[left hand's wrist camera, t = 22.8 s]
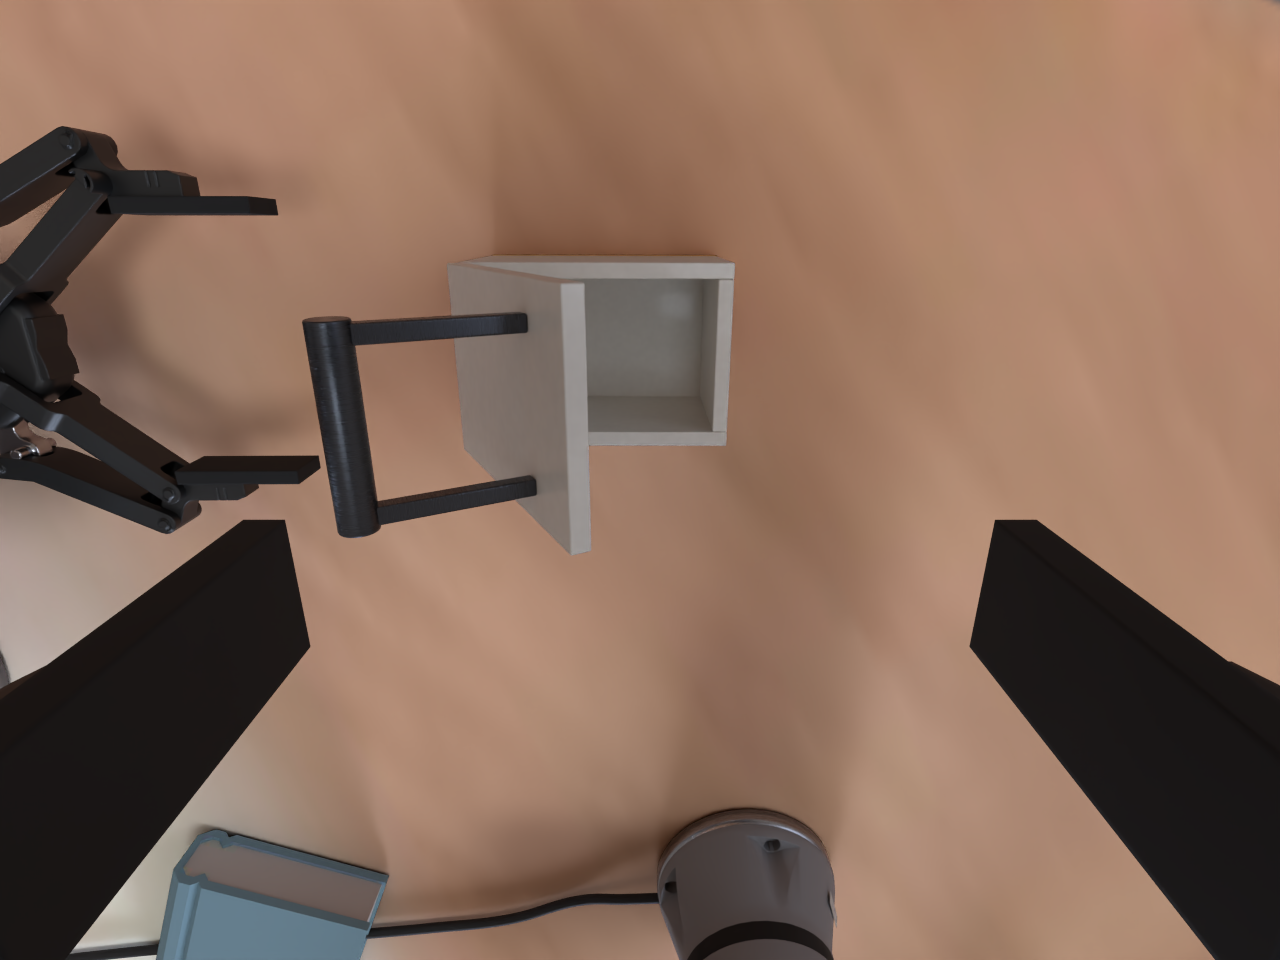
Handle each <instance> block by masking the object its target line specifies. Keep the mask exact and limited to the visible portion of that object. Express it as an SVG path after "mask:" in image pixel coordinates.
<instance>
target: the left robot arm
mask: <svg viewBox="0 0 1280 960" xmlns="http://www.w3.org/2000/svg"><path fill="white" fill-rule="evenodd" d="M309 648H310V642H309V637H308V632H307V627H306V622H305V617H304V612H303V607H302V602H301V597H300V592H299V587H298V582H297V578H296V573H295V568H294V563H293V558H292V553H291V548H290V543H289V538H288V533H287V528H286V523H285V520H243V521H241V522H240V523H239V524H237V525H236V526H234V527H233V528H232V529H230V530H229V531H228V532H226V533H225V534H224V535H222V536H221V537H220V538H218V539H217V540H216V541H214V542H213V543H211V544H210V545H209V546H207V547H206V548H205V549H203V550H202V551H201V552H199V553H198V554H197V555H195V556H194V557H193V558H191V559H190V560H188V561H187V562H186V563H184V564H183V565H182V566H180V567H179V568H178V569H176V570H175V571H174V572H172V573H171V574H170V575H168V576H167V577H166V578H164V579H163V580H161V581H160V582H159V583H157V584H156V585H155V586H153V587H152V588H151V589H149V590H148V591H147V592H145V593H144V594H143V595H141V596H140V597H138V598H137V599H136V600H134V601H133V602H132V603H130V604H129V605H128V606H126V607H125V608H124V609H122V610H121V611H120V612H118V613H117V614H115V615H114V616H113V617H111V618H110V619H109V620H107V621H106V622H105V623H103V624H102V625H101V626H99V627H98V628H97V629H95V630H94V631H93V632H91V633H90V634H88V635H87V636H86V637H84V638H83V639H82V640H80V641H79V642H78V643H76V644H75V645H74V646H72V647H71V648H70V649H68V650H67V651H65V652H64V653H63V654H61V655H60V656H59V657H57V658H56V659H55V660H53V661H52V662H51V663H49V664H48V665H46V666H44V667H42V668H40V669H38V670H36V671H34V672H32V673H30V674H28V675H26V676H24V677H22V678H20V679H18V680H16V681H14V682H12V683H10V684H8V685H6V686H4V687H2V688H1V689H0V960H108V959H118V958H128V957H138V956H148V955H157V952H158V947H159V944H158V945H147V946H137V947H127V948H117V949H108V950H99V951H90V952H82V953H74V954H70V952H71V951H72V950H73V949H74V947H75V946H76V945H77V944H78V942H79V941H80V940H81V938H82V937H83V936H84V935H85V933H86V932H87V931H88V930H89V928H90V927H91V926H92V924H93V923H94V922H95V921H96V919H97V918H98V917H99V915H100V914H101V913H102V912H103V910H104V909H105V908H106V907H107V905H108V904H109V903H110V901H111V900H112V899H113V898H114V896H115V895H116V894H117V893H118V891H119V890H120V889H121V887H122V886H123V885H124V884H125V882H126V881H127V880H128V879H129V877H130V876H131V875H132V873H133V872H134V871H135V870H136V868H137V867H138V866H139V865H140V863H141V862H142V861H143V859H144V858H145V857H146V856H147V854H148V853H149V852H150V850H151V849H152V848H153V847H154V845H155V844H156V843H157V842H158V840H159V839H160V838H161V836H162V835H163V834H164V833H165V831H166V830H167V829H168V828H169V826H170V825H171V824H172V822H173V821H174V820H175V819H176V817H177V816H178V815H179V814H180V812H181V811H182V810H183V808H184V807H185V806H186V805H187V803H188V802H189V801H190V800H191V798H192V797H193V796H194V794H195V793H196V792H197V791H198V789H199V788H200V787H201V785H202V784H203V783H204V782H205V780H206V779H207V778H208V777H209V775H210V774H211V773H212V771H213V770H214V769H215V768H216V766H217V765H218V764H219V763H220V761H221V760H222V759H223V757H224V756H225V755H226V754H227V752H228V751H229V750H230V749H231V747H232V746H233V745H234V743H235V742H236V741H237V740H238V738H239V737H240V736H241V734H242V733H243V732H244V731H245V729H246V728H247V727H248V726H249V724H250V723H251V722H252V720H253V719H254V718H255V717H256V715H257V714H258V713H259V712H260V710H261V709H262V708H263V706H264V705H265V704H266V703H267V701H268V700H269V699H270V698H271V696H272V695H273V694H274V692H275V691H276V690H277V689H278V687H279V686H280V685H281V684H282V682H283V681H284V680H285V678H286V677H287V676H288V675H289V673H290V672H291V671H292V669H293V668H294V667H295V666H296V664H297V663H298V662H299V661H300V659H301V658H302V657H303V655H304V654H305V653H306V652H307V650H308V649H309ZM970 648H971V649H972V650H973V652H974V653H975V654H976V655H977V657H978V658H979V659H980V661H981V662H982V663H983V664H984V666H985V667H986V668H987V669H988V671H989V672H990V673H991V675H992V676H993V677H994V678H995V680H996V681H997V682H998V684H999V685H1000V686H1001V687H1002V689H1003V690H1004V691H1005V692H1006V694H1007V695H1008V696H1009V698H1010V699H1011V700H1012V701H1013V703H1014V704H1015V705H1016V706H1017V708H1018V709H1019V710H1020V712H1021V713H1022V714H1023V715H1024V717H1025V718H1026V719H1027V720H1028V722H1029V723H1030V724H1031V726H1032V727H1033V728H1034V729H1035V731H1036V732H1037V733H1038V735H1039V736H1040V737H1041V738H1042V740H1043V741H1044V742H1045V743H1046V745H1047V746H1048V747H1049V749H1050V750H1051V751H1052V752H1053V754H1054V755H1055V756H1056V757H1057V759H1058V760H1059V761H1060V763H1061V764H1062V765H1063V766H1064V768H1065V769H1066V770H1067V771H1068V773H1069V774H1070V775H1071V777H1072V778H1073V779H1074V780H1075V782H1076V783H1077V784H1078V785H1079V787H1080V788H1081V789H1082V791H1083V792H1084V793H1085V794H1086V796H1087V797H1088V798H1089V800H1090V801H1091V802H1092V803H1093V805H1094V806H1095V807H1096V808H1097V810H1098V811H1099V812H1100V814H1101V815H1102V816H1103V817H1104V819H1105V820H1106V821H1107V822H1108V824H1109V825H1110V826H1111V828H1112V829H1113V830H1114V831H1115V833H1116V834H1117V835H1118V836H1119V838H1120V839H1121V840H1122V842H1123V843H1124V844H1125V845H1126V847H1127V848H1128V849H1129V850H1130V852H1131V853H1132V854H1133V856H1134V857H1135V858H1136V859H1137V861H1138V862H1139V863H1140V865H1141V866H1142V867H1143V868H1144V870H1145V871H1146V872H1147V873H1148V875H1149V876H1150V877H1151V879H1152V880H1153V881H1154V882H1155V884H1156V885H1157V886H1158V887H1159V889H1160V890H1161V891H1162V893H1163V894H1164V895H1165V896H1166V898H1167V899H1168V900H1169V901H1170V903H1171V904H1172V905H1173V907H1174V908H1175V909H1176V910H1177V912H1178V913H1179V914H1180V915H1181V917H1182V918H1183V919H1184V921H1185V922H1186V923H1187V924H1188V926H1189V927H1190V928H1191V930H1192V931H1193V932H1194V933H1195V935H1196V936H1197V937H1198V938H1199V940H1200V941H1201V942H1202V944H1203V945H1204V946H1205V947H1206V949H1207V950H1208V951H1209V952H1210V954H1211V955H1212V956H1213V958H1214V959H1215V960H1280V686H1279V685H1278V684H1276V683H1274V682H1272V681H1270V680H1268V679H1266V678H1264V677H1262V676H1260V675H1258V674H1256V673H1254V672H1252V671H1250V670H1248V669H1246V668H1244V667H1242V666H1240V665H1238V664H1236V663H1233V662H1228V661H1227V660H1225V659H1224V658H1223V657H1221V656H1220V655H1219V654H1217V653H1216V652H1215V651H1213V650H1212V649H1210V648H1209V647H1208V646H1206V645H1205V644H1204V643H1202V642H1201V641H1200V640H1198V639H1197V638H1196V637H1194V636H1193V635H1192V634H1190V633H1189V632H1187V631H1186V630H1185V629H1183V628H1182V627H1181V626H1179V625H1178V624H1177V623H1175V622H1174V621H1173V620H1171V619H1170V618H1169V617H1167V616H1166V615H1165V614H1163V613H1162V612H1160V611H1159V610H1158V609H1156V608H1155V607H1154V606H1152V605H1151V604H1150V603H1148V602H1147V601H1146V600H1144V599H1143V598H1142V597H1140V596H1139V595H1137V594H1136V593H1135V592H1133V591H1132V590H1131V589H1129V588H1128V587H1127V586H1125V585H1124V584H1123V583H1121V582H1120V581H1119V580H1117V579H1116V578H1114V577H1113V576H1112V575H1110V574H1109V573H1108V572H1106V571H1105V570H1104V569H1102V568H1101V567H1100V566H1098V565H1097V564H1096V563H1094V562H1093V561H1092V560H1090V559H1089V558H1087V557H1086V556H1085V555H1083V554H1082V553H1081V552H1079V551H1078V550H1077V549H1075V548H1074V547H1073V546H1071V545H1070V544H1069V543H1067V542H1066V541H1064V540H1063V539H1062V538H1060V537H1059V536H1058V535H1056V534H1055V533H1054V532H1052V531H1051V530H1050V529H1048V528H1047V527H1046V526H1044V525H1043V524H1041V523H1040V522H1039V521H1037V520H995V523H994V528H993V533H992V538H991V543H990V548H989V553H988V558H987V563H986V568H985V573H984V578H983V582H982V587H981V592H980V597H979V602H978V607H977V612H976V617H975V622H974V627H973V632H972V637H971V642H970ZM657 889H658V893H642V894H586V895H579V896H574V897H569V898H565V899H561V900H557V901H554V902H551V903H548V904H545V905H542V906H538V907H535V908H532V909H529V910H525V911H522V912H517V913H513V914H508V915H502V916H496V917H489V918H480V919H470V920H459V921H447V922H436V923H425V924H415V925H404V926H392V927H380V928H370V931H369V934H368V935H366V938H365V939H371V938H383V937H395V936H407V935H418V934H428V933H439V932H450V931H463V930H474V929H483V928H491V927H498V926H504V925H510V924H515V923H519V922H523V921H527V920H530V919H534V918H537V917H540V916H543V915H546V914H549V913H552V912H556V911H559V910H563V909H567V908H571V907H576V906H582V905H591V904H610V905H628V904H660V908H661V912H662V915H663V917H664V920H665V923H666V925H667V928H668V931H669V933H670V936H671V939H672V941H673V944H674V947H675V949H676V952H677V955H678V957H679V960H834V959H833V955H832V939H833V920H835V924H836V928H837V914H836V910H835V906H834V900H835V885H834V875H833V871H832V868H831V864H830V861H829V858H828V854H827V852H826V849H825V847H824V846H823V844H822V842H821V841H820V840H819V838H818V837H817V836H816V835H815V834H814V833H813V832H812V831H811V830H810V829H809V828H807V827H806V826H805V825H803V824H802V823H800V822H798V821H796V820H794V819H792V818H790V817H788V816H785V815H782V814H779V813H775V812H771V811H765V810H755V809H742V810H732V811H725V812H721V813H717V814H714V815H710V816H708V817H705V818H703V819H700V820H698V821H696V822H694V823H693V824H691V825H689V826H688V827H686V828H685V829H684V830H682V831H681V832H680V833H679V834H677V835H676V836H675V837H674V838H673V839H672V840H671V842H670V843H669V844H668V846H667V847H666V849H665V850H664V852H663V854H662V856H661V858H660V861H659V865H658V871H657Z"/></svg>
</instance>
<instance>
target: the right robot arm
mask: <svg viewBox="0 0 1280 960" xmlns="http://www.w3.org/2000/svg"><path fill="white" fill-rule="evenodd" d="M117 153H118V150H117V145H116V143H115V141H114V140H113V139H112V138H111V137H109V136H108V135H105V134H100V133H96V132H91V131H86V130H81V129H76V128H70V127H64V126H61V127H58V128H56V129H55V130H53V131H52V132H50V133H48V134H47V135H45V136H44V137H42V138H41V139H39V140H37V141H36V142H34V143H33V144H31V145H30V146H28V147H26V148H25V149H23V150H22V151H20V152H19V153H17V154H16V155H14V156H12V157H11V158H9V159H8V160H6V161H5V162H3V163H1V164H0V227H2V226H5V225H8V224H10V223H12V222H14V221H15V220H17V219H19V218H20V217H22V216H23V215H25V214H27V213H28V212H30V211H31V210H33V209H35V208H36V207H38V206H39V205H41V204H43V203H44V202H46V201H48V200H49V199H51V198H52V197H54V196H56V195H57V194H59V193H60V192H62V191H64V190H65V189H66V191H65V192H64V193H63V194H62V195H61V196H60V198H59V199H58V200H57V201H56V202H55V204H54V205H53V206H52V207H51V208H50V210H49V211H48V212H47V213H46V214H45V216H44V217H43V218H42V219H41V220H40V222H39V223H38V224H37V225H36V226H35V227H34V229H33V230H32V231H31V232H30V233H29V235H28V236H27V237H26V238H25V239H24V241H23V242H22V243H21V244H20V245H19V247H18V248H17V249H16V250H15V251H14V253H13V254H12V255H11V256H10V257H9V258H8V260H7V261H6V262H4V263H3V264H0V478H2V479H12V480H23V481H33V482H36V483H38V484H41V485H43V486H46V487H48V488H51V489H53V490H56V491H58V492H61V493H63V494H66V495H68V496H71V497H73V498H76V499H78V500H81V501H83V502H86V503H88V504H91V505H93V506H96V507H98V508H101V509H103V510H106V511H108V512H111V513H114V514H116V515H119V516H121V517H124V518H126V519H129V520H131V521H134V522H136V523H139V524H141V525H144V526H146V527H149V528H151V529H154V530H156V531H159V532H161V533H165V534H169V533H172V532H174V531H175V530H177V529H178V528H180V527H182V526H183V525H185V524H186V523H188V522H189V521H191V520H192V519H194V518H195V517H197V516H198V515H200V513H201V511H202V508H201V505H200V504H199V500H239V499H241V498H244V497H246V496H248V495H249V494H251V493H252V492H254V491H255V490H257V489H258V488H259V486H258V484H300V483H301V482H303V481H304V480H305V479H307V478H308V477H309V476H311V475H312V474H313V473H315V472H316V471H317V470H319V469H320V468H321V467H320V461H319V456H204V457H202V458H200V459H198V460H196V461H194V462H192V463H190V464H189V463H188V462H186V461H185V460H183V459H182V458H180V457H179V456H177V455H176V454H174V453H173V452H171V451H170V450H168V449H167V448H165V447H164V446H162V445H161V444H159V443H158V442H156V441H155V440H153V439H152V438H150V437H149V436H147V435H146V434H144V433H143V432H141V431H140V430H138V429H137V428H135V427H134V426H132V425H131V424H129V423H128V422H126V421H125V420H123V419H122V418H120V417H119V416H117V415H116V414H114V413H113V412H111V411H110V410H108V409H107V408H105V407H104V406H102V405H101V404H100V398H99V397H98V396H97V395H96V394H94V393H93V392H91V391H90V390H88V389H87V388H85V387H84V386H82V385H81V384H79V383H78V382H76V381H75V380H74V374H77V373H79V369H78V366H77V362H76V359H75V357H74V355H73V353H72V351H71V350H70V348H69V346H68V343H67V326H66V323H65V319H64V316H63V314H57V313H56V311H55V310H54V308H53V307H52V306H51V304H52V303H53V301H54V300H55V299H56V298H57V297H58V296H59V295H60V293H61V292H62V291H63V290H64V289H65V288H66V287H67V285H68V281H67V277H68V276H69V275H70V274H71V273H72V272H73V271H74V269H75V268H76V267H77V266H78V265H79V264H80V263H81V261H82V260H83V259H84V258H85V257H86V256H87V255H88V253H89V252H90V251H91V250H92V249H93V248H94V246H95V245H96V244H97V243H98V242H99V241H100V240H101V238H102V237H103V236H104V235H105V234H106V233H107V232H108V230H109V229H110V228H111V227H112V226H113V225H114V224H115V222H116V221H117V220H118V219H119V218H120V217H121V216H122V214H134V215H278V211H277V205H276V199H267V198H258V197H249V196H200V192H199V187H198V182H197V178H196V177H194V176H191V175H189V174H186V173H181V172H174V171H167V170H156V171H154V170H147V171H145V170H127V169H126V168H125V167H124V166H122V164H121V163H120V161H119V160H118V158H117ZM57 399H59V400H61V401H59V402H55V401H56V400H57ZM53 402H55V403H53ZM29 422H30V423H32V424H33V425H35V426H36V427H38V428H40V429H43V430H47V431H54V432H57V433H59V434H61V435H62V436H64V437H65V438H67V439H68V440H70V441H71V442H73V443H74V444H76V445H78V446H79V447H81V448H82V449H84V450H85V451H87V452H88V453H90V454H92V455H93V456H95V457H96V458H98V459H99V460H97V459H95V458H92V457H90V456H87V455H85V454H83V453H80V452H77V451H74V450H71V449H67V448H63V447H56V441H55V440H54V439H52V438H47V439H45V438H43V437H41V436H38V435H36V434H34V433H33V432H32V431H31V430H30V429H29V427H28V423H29ZM100 460H101V461H100ZM8 684H9V683H8V677H7V673H6V670H5V667H4V665H3V662H2V660H1V658H0V689H1V688H2V687H4V686H6V685H8Z"/></svg>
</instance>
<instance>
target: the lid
mask: <svg viewBox="0 0 1280 960" xmlns="http://www.w3.org/2000/svg"><path fill="white" fill-rule="evenodd" d="M447 271H448V282H449V292H450V303H451V314H452V316H435V317H418V318H400V319H383V320H366V321H351V319H350V318H349V317H342V316H327V317H314V318H308V319H304V320H303V321H302V324H303V330H304V336H305V342H306V348H307V354H308V359H309V365H310V371H311V377H312V383H313V389H314V395H315V401H316V407H317V412H318V418H319V424H320V430H321V436H322V442H323V448H324V454H325V459H326V465H327V471H328V477H329V483H330V489H331V495H332V501H333V506H334V512H335V518H336V524H337V530H338V533H339V535H340V536H342V537H346V538H359V537H364V536H368V535H371V534H374V533H375V532H377V531H378V530H379V529H380V528H381V525H383V524H389V523H394V522H399V521H404V520H410V519H415V518H420V517H426V516H431V515H436V514H441V513H447V512H452V511H457V510H463V509H468V508H473V507H478V506H484V505H489V504H494V503H500V502H505V501H510V500H516V501H517V502H518V503H519V504H520V505H521V506H522V507H523V508H524V509H525V510H526V511H527V512H528V513H529V514H530V515H531V516H532V517H533V518H534V519H535V520H536V521H537V522H538V523H539V524H540V525H541V526H542V527H543V528H544V529H545V530H546V531H547V532H548V533H549V534H550V535H551V536H552V537H553V538H554V539H555V540H556V541H557V542H558V543H559V544H560V545H561V546H562V547H563V548H564V549H565V550H566V551H567V552H568V553H569V554H570V555H576V554H580V553H584V552H588V551H591V521H590V482H589V443H588V404H587V365H586V326H585V286H584V283H583V282H578V281H572V280H566V279H560V278H554V277H548V276H542V275H536V274H530V273H524V272H518V271H511V270H505V269H499V268H493V267H487V266H481V265H475V264H469V263H463V262H459V263H447ZM452 338H454V346H455V356H456V367H457V378H458V389H459V399H460V410H461V421H462V431H463V442H464V449H465V450H466V451H467V452H468V453H469V454H470V455H471V456H472V457H473V458H474V459H475V460H476V461H477V462H478V463H479V464H480V465H481V466H482V467H483V468H484V469H485V470H486V471H487V472H488V473H489V474H490V475H491V476H492V477H493V478H494V479H495V480H496V481H492V482H486V483H480V484H475V485H469V486H463V487H457V488H451V489H446V490H440V491H434V492H428V493H423V494H417V495H411V496H405V497H400V498H394V499H388V500H382V501H377V494H376V487H375V480H374V473H373V466H372V460H371V453H370V446H369V439H368V432H367V425H366V418H365V411H364V404H363V397H362V391H361V384H360V377H359V370H358V363H357V356H356V349H355V346H356V345H370V344H383V343H397V342H411V341H424V340H438V339H452Z"/></svg>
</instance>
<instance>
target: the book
mask: <svg viewBox="0 0 1280 960" xmlns="http://www.w3.org/2000/svg"><path fill="white" fill-rule="evenodd" d="M388 877H389V876H388V875H384V874H381V873H377V872H373V871H369V870H366V869H362V868H358V867H354V866H351V865H347V864H343V863H339V862H336V861H332V860H328V859H324V858H321V857H317V856H313V855H310V854H306V853H302V852H298V851H295V850H291V849H287V848H283V847H280V846H276V845H272V844H268V843H265V842H261V841H257V840H253V839H250V838H246V837H242V836H239V835H235V836H232V837H228V835H227V833H226V832H224V831H220V830H213V831H210V832H206V833H203V834H200V835H198V836H197V838H196V839H195V840H194V842H193V843H192V844H191V846H190V847H189V849H188V850H187V851H186V853H185V854H184V855H183V857H182V858H181V860H180V861H179V862H178V864H177V865H176V867H175V868H174V869H173V874H172V880H171V885H170V890H169V895H168V900H167V905H166V911H165V916H164V921H163V926H162V931H161V936H160V942H159V947H158V952H157V957H156V960H360V957H361V955H362V952H363V949H364V946H365V943H366V940H367V939H365V938H366V935H368V934H369V931H370V928H371V926H372V923H373V920H374V917H375V914H376V911H377V908H378V906H379V903H380V900H381V897H382V894H383V891H384V888H385V885H386V883H387V880H388Z"/></svg>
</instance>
